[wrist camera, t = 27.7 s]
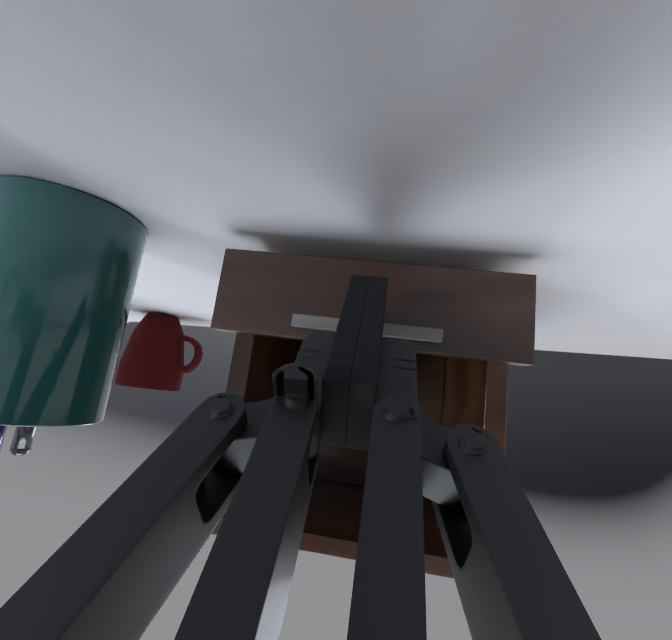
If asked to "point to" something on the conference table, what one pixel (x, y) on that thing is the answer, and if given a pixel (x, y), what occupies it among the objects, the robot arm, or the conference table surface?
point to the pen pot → (61, 304)
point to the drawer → (400, 311)
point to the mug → (156, 354)
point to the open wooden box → (350, 464)
